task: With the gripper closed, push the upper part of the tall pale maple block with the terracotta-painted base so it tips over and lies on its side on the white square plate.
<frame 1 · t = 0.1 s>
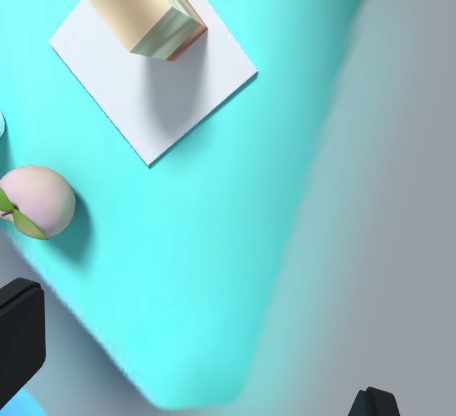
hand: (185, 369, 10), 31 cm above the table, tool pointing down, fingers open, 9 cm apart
decorative fruit: (65, 188, 46), on the table
white square plate: (149, 55, 38), on the table
maple block: (175, 25, 35), point 1 cm above the table, touching white square plate
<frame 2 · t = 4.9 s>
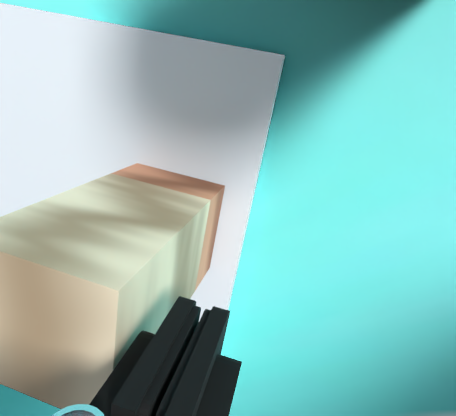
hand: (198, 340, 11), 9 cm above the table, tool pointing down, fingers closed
white square plate: (107, 193, 20), on the table
maple block: (174, 216, 19), point 1 cm above the table, touching white square plate, gripper
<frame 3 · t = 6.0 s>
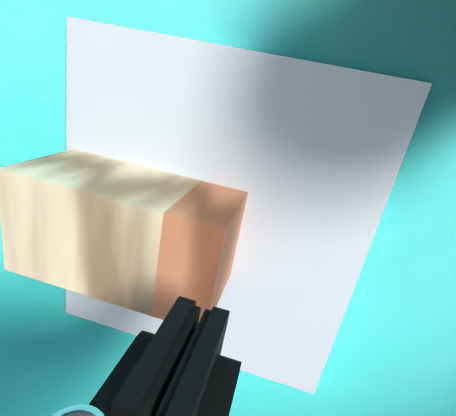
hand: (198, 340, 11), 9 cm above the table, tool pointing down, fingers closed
white square plate: (206, 222, 19), on the table
maple block: (228, 256, 16), point 3 cm above the table, tilted 90°, touching white square plate
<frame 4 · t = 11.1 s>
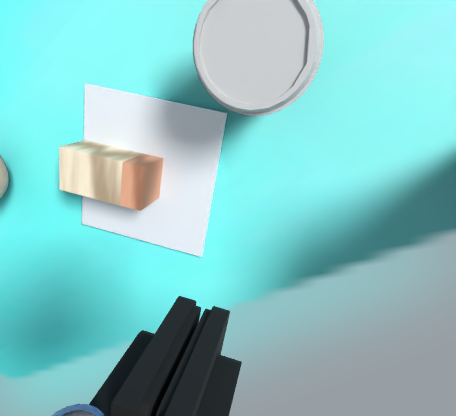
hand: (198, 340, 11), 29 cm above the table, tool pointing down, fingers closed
decorative fruit: (4, 165, 46), on the table
white square plate: (148, 173, 41), on the table
maple block: (152, 183, 38), point 3 cm above the table, tilted 90°, touching white square plate
disposable coffee cup: (271, 60, 34), on the table
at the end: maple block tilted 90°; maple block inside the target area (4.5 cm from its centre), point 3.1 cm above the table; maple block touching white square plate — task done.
